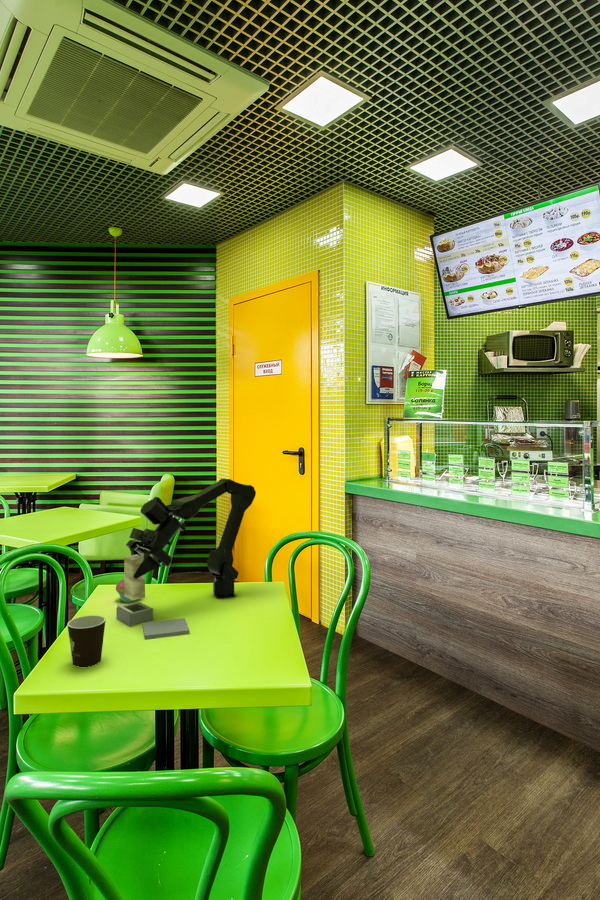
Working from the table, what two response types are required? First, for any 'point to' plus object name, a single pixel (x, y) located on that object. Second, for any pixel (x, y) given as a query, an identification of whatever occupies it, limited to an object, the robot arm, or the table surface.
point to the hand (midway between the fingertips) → (130, 575)
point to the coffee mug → (86, 639)
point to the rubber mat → (165, 628)
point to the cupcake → (122, 591)
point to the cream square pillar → (131, 585)
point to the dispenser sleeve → (134, 613)
